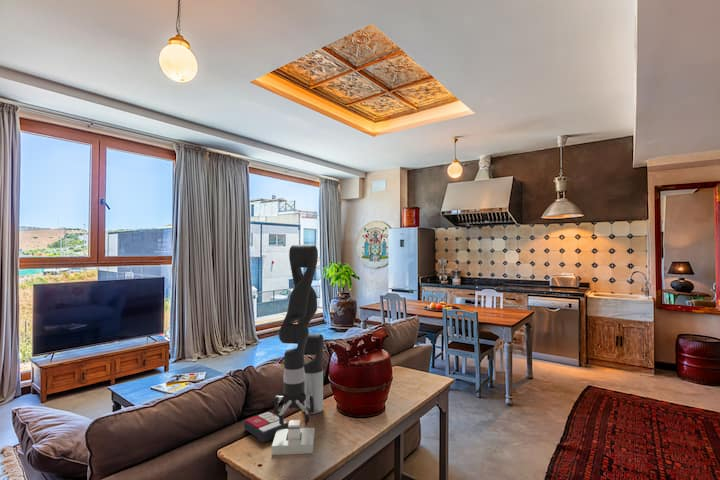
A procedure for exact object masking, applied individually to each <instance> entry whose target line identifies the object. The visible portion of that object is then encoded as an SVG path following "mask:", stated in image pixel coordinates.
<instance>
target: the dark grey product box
mask: <svg viewBox="0 0 720 480" xmlns="http://www.w3.org/2000/svg"><path fill="white" fill-rule="evenodd" d="M288 424H289V422H288V421H286V420H284V424H283V426H281V424H279V416H277V415H276V414H274V413H272V412H269V411H267V412H264V413H261V414H258V415H256V416H252V417H249V418H247V419H245V420H244V421H243V426H244V427H243V429H244V430H245V431H247V432H249V433H250V434H252V435H253V436H254V437H256V439H257V440H258V441H260V442H261V443H263V444H264V443H267V442H269V441H271V440H274V437H275V434H276V431H277V430H280V429H288Z"/></svg>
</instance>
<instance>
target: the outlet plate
mask: <svg viewBox="0 0 720 480" xmlns="http://www.w3.org/2000/svg"><path fill="white" fill-rule="evenodd" d="M315 432H316V431H315V427H301V440H289V441H288V429H280V430H277V431H276V434H275V437H274V439H272V440H273V441H272V444H271V456H280V455H281V456H282V455H300V454H301V455H303V454H314V448H315V445H314V444H315Z"/></svg>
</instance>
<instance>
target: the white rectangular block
mask: <svg viewBox="0 0 720 480" xmlns="http://www.w3.org/2000/svg"><path fill="white" fill-rule="evenodd" d="M301 426H302V425H301V419H291V420H289V422H288V441H289V440H301V428H302V427H301Z"/></svg>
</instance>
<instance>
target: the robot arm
mask: <svg viewBox="0 0 720 480" xmlns="http://www.w3.org/2000/svg"><path fill="white" fill-rule="evenodd" d="M288 252H289V253H288V257H289V258H288V259H289V266H290V270H291V276H292V282H293V283H292V284H293V289H292V290H291V293H290V296H289V300H288V307H287V312H286V314H285V317H284V319H283V321H282V323H281V325H280V328H279V330H278V331H279V332H278V339H279V341H280V342H281V343H282V344H292V345H293V344H296V345H297V346H296V347H295V348H292V349H291V348H290V349H287V350H286V351H285V352H284V355H283V361H284V363H283V364H284V366H283V379H282V380H283V395H279V394H276V395H275V396H274V399H273V400H274V402H273V403H274V404H273V414H274V415H278V417H279V424H281V426H283V424H284V421H285V419H284V417H285V412H286V411H287V409H289V410H293V409H299V408H300V410H301V411H303V412H302V413H304V412H305V413H304V425H305V426H307V425H308V423H309V422H310V415H315V414H319V413H321V412H323V410H324V345H325V344H324V343H325V340H324V336H323V334H322V333H318V332H317V333H312V332H311V333H310V330H309V327H308V326H309V324H310V322H311V321H312V319H313V318H314V316H315V314H316V313H317V311H318V298H317V297H318V296H317V292H316V291H315V289H314V288H313V287H312V283H313V281H314V277H315V272H316V269H317V265H318V261H319V260H318V259H319V251H318V247H317V246H316V245H314V244H293V245H291V246H290V248H289V251H288ZM302 268H305V269H306V270H305V272H304V273H303V271H302ZM295 321H297V323H295ZM305 356H315V357H313V359H309V360H307V361H305ZM281 401H283V406H282V407H281V408H280V409H279V403H281Z"/></svg>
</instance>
